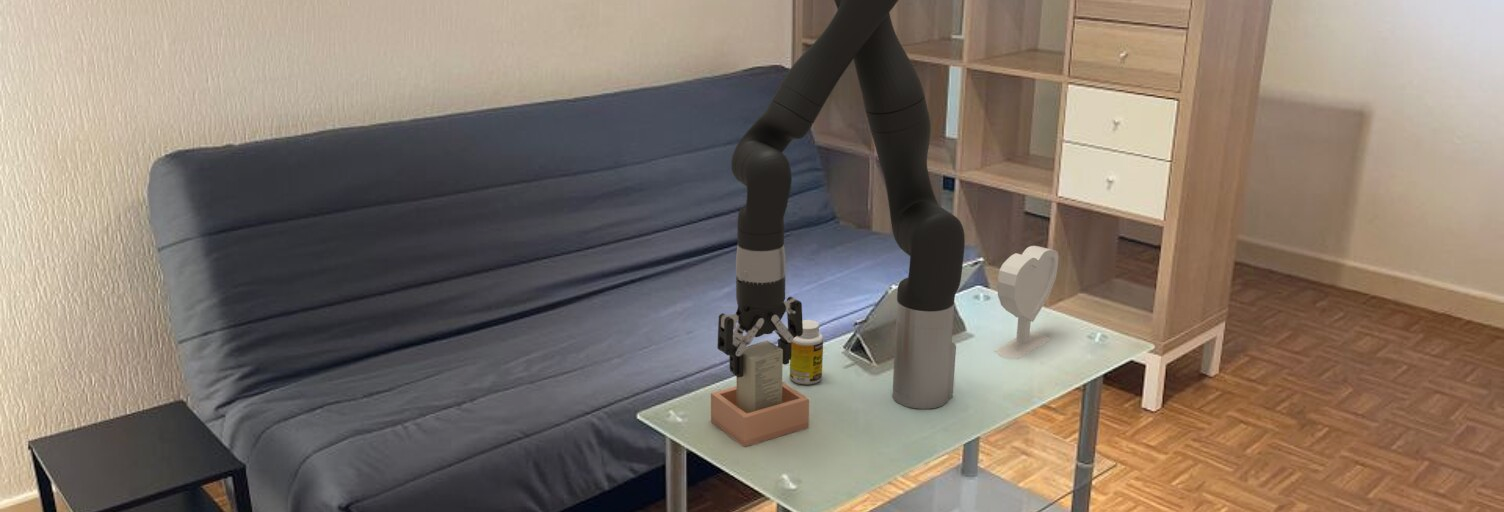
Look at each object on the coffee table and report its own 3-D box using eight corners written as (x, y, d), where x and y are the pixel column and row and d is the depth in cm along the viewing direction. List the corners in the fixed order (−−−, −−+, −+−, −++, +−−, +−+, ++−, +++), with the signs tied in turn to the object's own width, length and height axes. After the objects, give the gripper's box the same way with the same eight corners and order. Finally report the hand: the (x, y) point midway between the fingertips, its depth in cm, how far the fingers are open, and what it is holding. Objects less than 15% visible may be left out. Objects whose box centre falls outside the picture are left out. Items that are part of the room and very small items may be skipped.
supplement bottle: (815, 388, 210) (816, 332, 206) (784, 382, 212) (785, 327, 208) (826, 375, 215) (828, 320, 211) (796, 369, 217) (797, 315, 213)
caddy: (773, 403, 204) (773, 376, 202) (808, 427, 196) (809, 399, 195) (710, 421, 198) (710, 393, 196) (744, 447, 190) (744, 417, 188)
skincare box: (766, 408, 200) (767, 339, 196) (783, 419, 197) (784, 348, 193) (734, 419, 197) (734, 348, 193) (751, 429, 193) (751, 358, 189)
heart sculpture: (1012, 362, 220) (1020, 266, 214) (988, 354, 223) (995, 260, 217) (1055, 336, 231) (1063, 245, 225) (1031, 329, 234) (1039, 239, 228)
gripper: (785, 256, 195) (784, 350, 200) (707, 273, 188) (709, 371, 193) (813, 270, 189) (811, 367, 195) (733, 288, 182) (734, 388, 187)
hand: (760, 369), depth 194 cm, fingers open, 8 cm apart
